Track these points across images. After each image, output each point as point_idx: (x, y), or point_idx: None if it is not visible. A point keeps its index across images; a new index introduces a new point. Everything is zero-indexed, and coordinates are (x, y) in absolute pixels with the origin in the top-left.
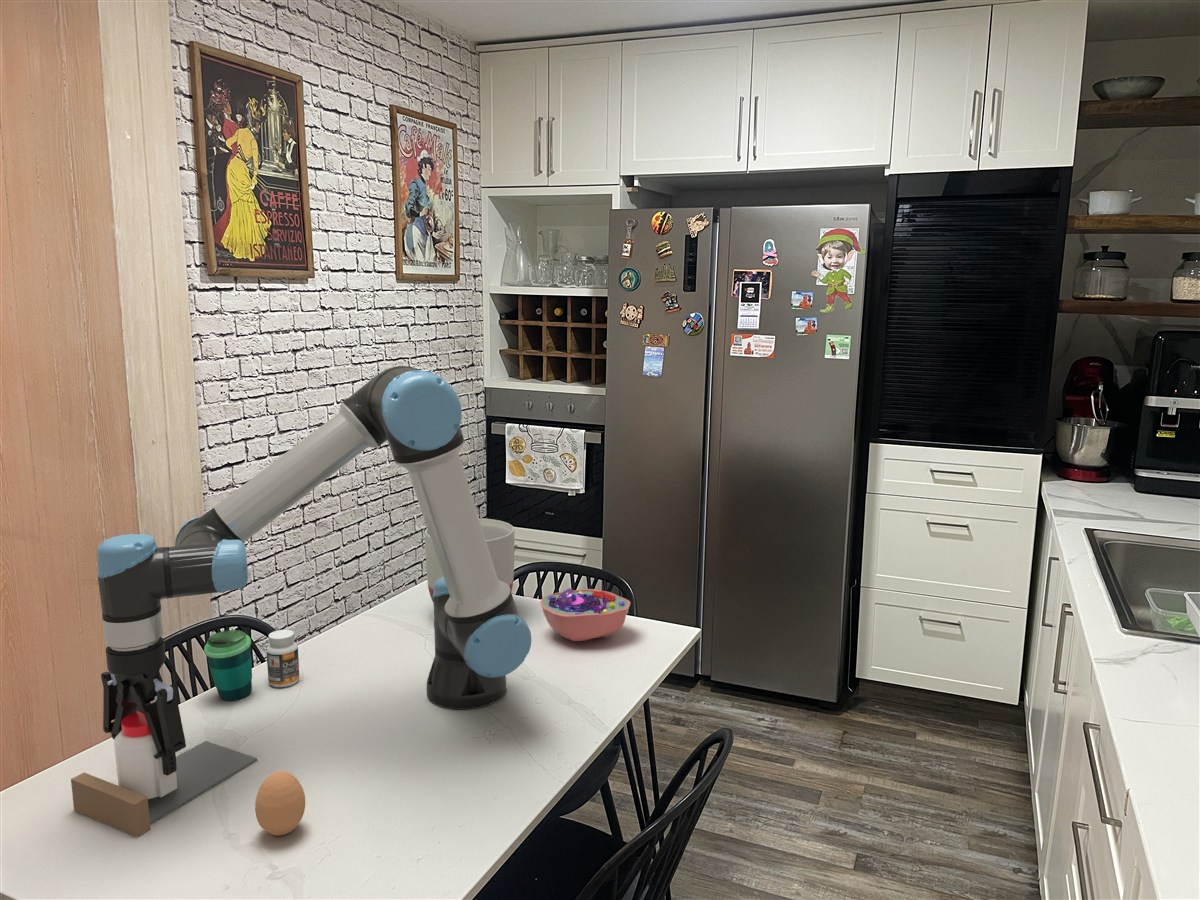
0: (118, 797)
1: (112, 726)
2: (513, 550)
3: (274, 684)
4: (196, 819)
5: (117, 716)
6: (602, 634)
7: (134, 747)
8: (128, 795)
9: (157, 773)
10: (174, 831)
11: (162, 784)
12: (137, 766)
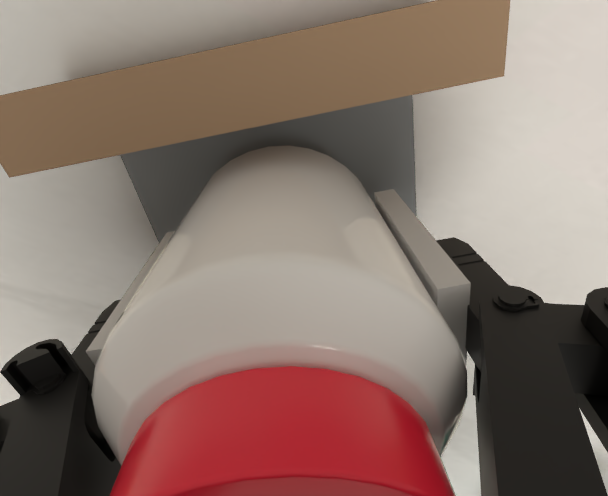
0: (95, 79)
1: (595, 349)
2: None
3: None
4: (65, 251)
5: (567, 492)
6: None
7: (121, 328)
8: (83, 124)
9: (140, 283)
10: (34, 184)
11: None
12: (165, 249)
